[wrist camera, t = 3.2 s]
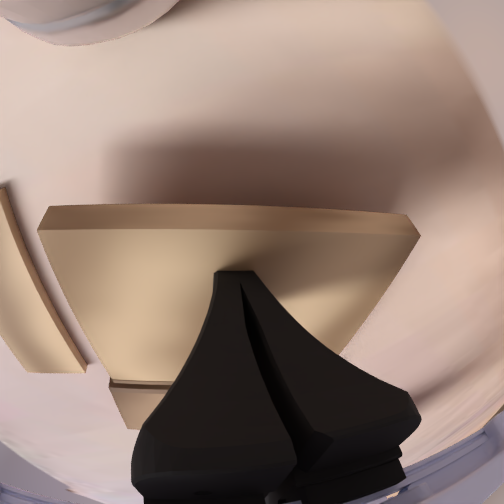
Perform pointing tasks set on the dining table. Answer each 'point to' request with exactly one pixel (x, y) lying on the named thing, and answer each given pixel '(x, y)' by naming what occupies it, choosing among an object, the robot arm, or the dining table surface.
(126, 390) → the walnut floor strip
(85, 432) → the dining table surface
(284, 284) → the oak plank
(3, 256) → the plank
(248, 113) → the dining table surface
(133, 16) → the plastic bottle
